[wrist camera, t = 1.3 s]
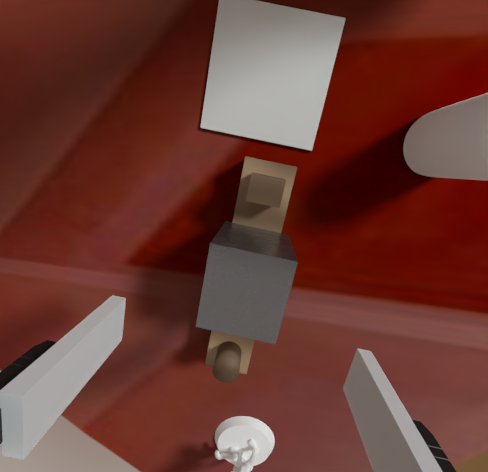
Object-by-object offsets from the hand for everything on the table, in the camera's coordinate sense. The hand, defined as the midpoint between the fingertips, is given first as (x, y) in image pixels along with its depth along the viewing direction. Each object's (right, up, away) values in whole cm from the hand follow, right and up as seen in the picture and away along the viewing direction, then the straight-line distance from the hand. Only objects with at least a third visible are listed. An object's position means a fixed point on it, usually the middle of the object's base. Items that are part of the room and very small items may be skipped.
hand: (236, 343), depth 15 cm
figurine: (0, -24, +24) cm, 34 cm away
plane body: (+1, +3, +17) cm, 17 cm away
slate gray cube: (+1, +3, +13) cm, 13 cm away
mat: (+3, +22, +12) cm, 25 cm away
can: (+20, +15, +13) cm, 28 cm away
